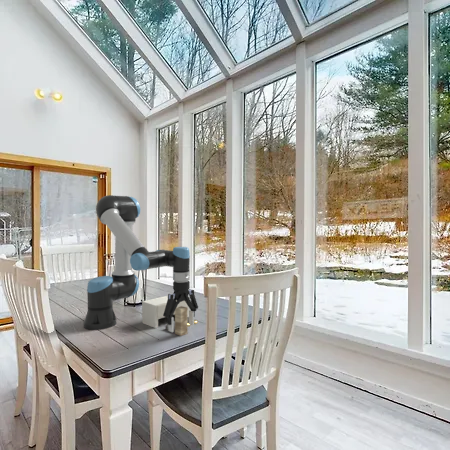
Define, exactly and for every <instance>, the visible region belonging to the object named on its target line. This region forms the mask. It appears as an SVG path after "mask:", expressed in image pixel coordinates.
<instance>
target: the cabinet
mask: <svg viewBox="0 0 450 450" xmlns="http://www.w3.org/2000/svg"><path fill="white" fill-rule="evenodd" d="M188 297H189V298H190V296H188ZM167 300H168V295H164V296H160V297H156V298H152V299H148V300H142V302H141V303H142V304H141V308H142V310H141V311H142V314H141V315H142V320H141V321H142V324H144V325H147V326H149V327H151V328H154V329H157V328H159V320H160V319H164V318H165V317H164V316H163V314H164V311H165V307H166V304H167ZM180 306H183V307H187V317H189V310H190V308H189V307H188V305H187V303H186V302H185V301H182V302H180V303H179V304H178V305H177V307H180ZM177 307H176V308H177ZM173 316H175V312H174V314H173Z"/></svg>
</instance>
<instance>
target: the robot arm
mask: <svg viewBox="0 0 450 450" xmlns="http://www.w3.org/2000/svg"><path fill="white" fill-rule="evenodd" d="M95 213H96V216H97V218H98V220H99V221H100V222H101V224H103V225H106V226H107V228H108V229H109V230H110V232H111V233H112V235H114V238H115V239H114V240H115V241H114V271H112V272H111V276H110V275H103V276H96V277H94V278H91V279H90V280H88V282H87V287H86V292H87V312H86V315H85V318H84V320H83V328H85V329H86V330H89V331H90V330H91V331H93V330H94V331H99V330H104V329H106V330H107V329H109V328H112V327H114V326H115V325H117V317H116V313H115V311H114V308H113V307H114V306H113V305H114V304H113V302H114V301H117V300H119V301H120V300H123V299H127V298H130V297H133V296H135V295H136V294H137V292H138V290H139V288H140V280H139V277H138V276H137V275H136V274H135V271H137V272H139V271H146V270H151V269H158V268H163V267H170V268H172V289H173V293H168V295H167V296H168V300H167V304H166V307H165V311H164V314H163V316H164V318H166V321H167V322H166V324H168V330H167V331H168V332H171V333H174V321H175V316H174V315H173V314H174V312H175V309H176V307H177V305H178V304H179V303H180V302H182V301H185V302H186V303H187V305H188V307H189V308H190V310H189V324H190V326H194V325H195V324H194V320H195V316H196V313H195V312H197V310H198V309H199V306H198V302H197V300H196V298H197V297H196V296H195V290H194V289H192V288H191V289H190V285H191V284H190V283H191V282H190V262H191V260H190V259H191V255H190V248H189V247H188V246H174V247H173V249H172V250H168V249H157V250H155V251H154V250H153V251H149V250H148V249H147V248H146V247H145V246H144V244H143V243H142V241H141V240H140V239H139V237H137V235H136V234H135V233H134V232H133V225H134V224H136V219H137V218H138V217H139V216H140V215H141V206H140V203H139V201H138V199H137V198H135V197H133V196H129V195H128V196H127V195H110V194H108V195H105V196H102V197H101V198H100V199H99V200H98V201H97V203H96V206H95ZM189 297H190V298H189ZM173 316H174V317H173Z"/></svg>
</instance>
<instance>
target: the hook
mask: <svg viewBox="0 0 450 450" xmlns="http://www.w3.org/2000/svg"><path fill="white" fill-rule="evenodd" d="M187 322H189V317H187V307H183V306H180V307H177V308H176V309H175V315H174V332H173V333H174V334H175V335H177V336H180V337H182V336H184V335H188V327H187ZM164 330H167V331H168V324H167V323H165V329H164Z"/></svg>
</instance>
